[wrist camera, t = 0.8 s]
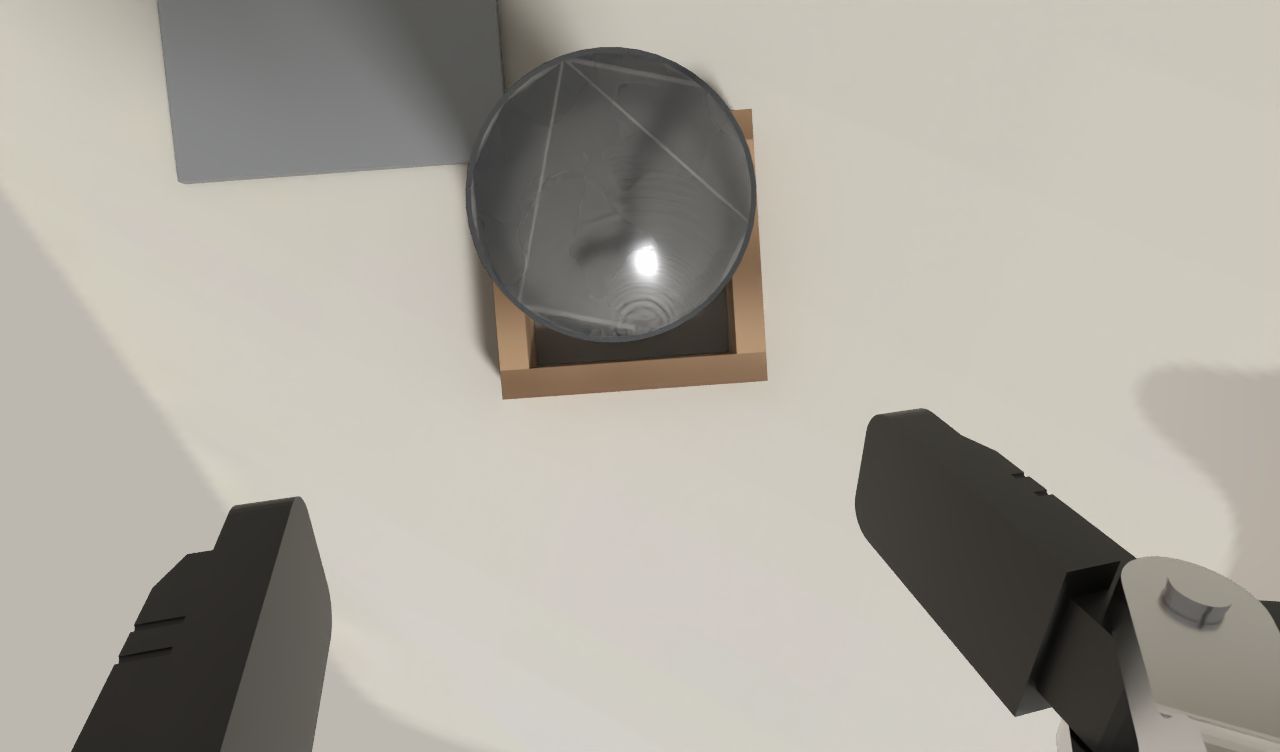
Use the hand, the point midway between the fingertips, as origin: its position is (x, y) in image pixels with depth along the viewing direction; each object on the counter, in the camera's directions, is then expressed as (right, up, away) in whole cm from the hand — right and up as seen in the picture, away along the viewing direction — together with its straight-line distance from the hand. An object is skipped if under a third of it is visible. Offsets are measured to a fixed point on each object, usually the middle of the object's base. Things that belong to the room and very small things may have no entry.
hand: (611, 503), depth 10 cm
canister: (0, +6, +16) cm, 17 cm away
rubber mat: (-11, +15, +15) cm, 24 cm away
